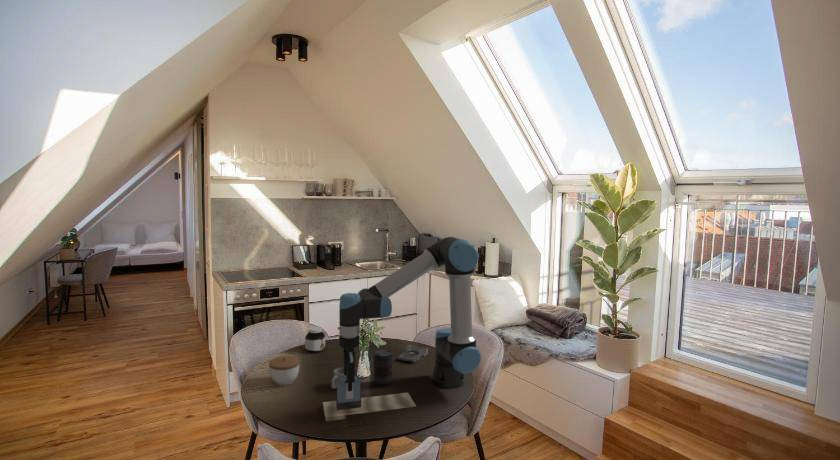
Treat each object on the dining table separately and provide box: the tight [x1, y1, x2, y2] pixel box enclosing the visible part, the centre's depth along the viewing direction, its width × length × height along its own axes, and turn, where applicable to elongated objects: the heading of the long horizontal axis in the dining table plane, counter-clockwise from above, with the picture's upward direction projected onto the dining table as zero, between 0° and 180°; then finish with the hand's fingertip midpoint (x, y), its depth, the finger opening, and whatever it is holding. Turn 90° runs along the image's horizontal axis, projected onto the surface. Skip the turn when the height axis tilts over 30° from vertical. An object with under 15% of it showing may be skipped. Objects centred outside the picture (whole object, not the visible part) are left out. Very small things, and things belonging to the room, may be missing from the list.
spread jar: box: [304, 325, 326, 354], centre depth 234 cm, size 12×11×12 cm
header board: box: [322, 392, 417, 422], centre depth 173 cm, size 34×12×9 cm, turn 107°
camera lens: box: [373, 349, 394, 388], centre depth 192 cm, size 8×8×15 cm
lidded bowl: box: [268, 355, 301, 386], centre depth 194 cm, size 13×13×11 cm
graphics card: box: [397, 344, 429, 363], centre depth 227 cm, size 17×4×12 cm
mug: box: [330, 367, 345, 390], centre depth 191 cm, size 10×7×7 cm, turn 154°
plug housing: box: [336, 375, 361, 403], centre depth 170 cm, size 8×4×8 cm, turn 107°
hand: (348, 395), depth 171 cm, fingers closed on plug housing, 4 cm apart
